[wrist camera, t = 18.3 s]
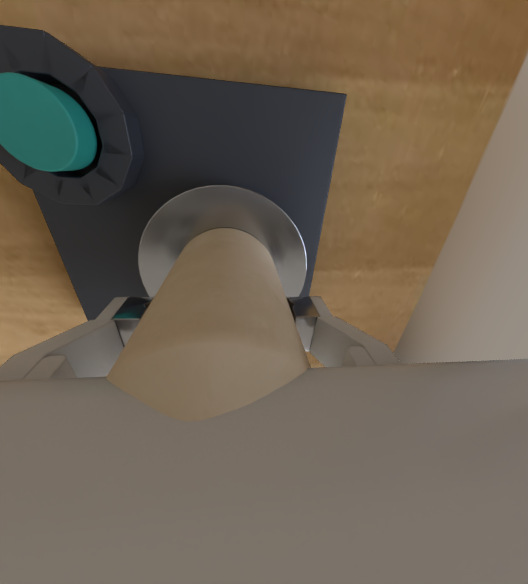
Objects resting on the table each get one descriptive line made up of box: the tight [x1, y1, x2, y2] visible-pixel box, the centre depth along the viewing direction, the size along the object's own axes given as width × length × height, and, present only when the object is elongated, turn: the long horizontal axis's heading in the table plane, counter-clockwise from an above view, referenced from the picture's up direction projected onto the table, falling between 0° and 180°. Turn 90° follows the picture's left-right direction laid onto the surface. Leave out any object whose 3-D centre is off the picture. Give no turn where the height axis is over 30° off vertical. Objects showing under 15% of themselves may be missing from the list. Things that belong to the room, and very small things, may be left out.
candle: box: [107, 228, 311, 421], centre depth 9 cm, size 6×6×10 cm
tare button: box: [0, 72, 97, 172], centre depth 9 cm, size 3×3×2 cm
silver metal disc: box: [138, 184, 307, 298], centre depth 13 cm, size 10×10×1 cm
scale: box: [0, 25, 346, 321], centre depth 14 cm, size 16×14×4 cm
